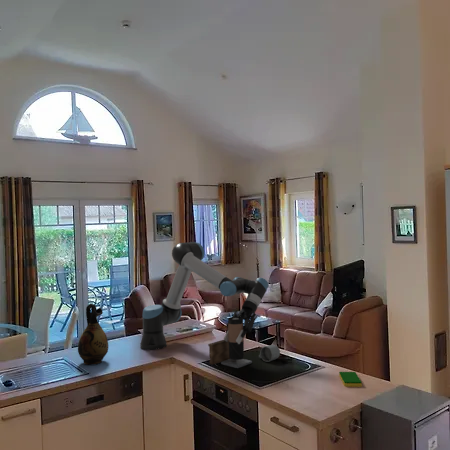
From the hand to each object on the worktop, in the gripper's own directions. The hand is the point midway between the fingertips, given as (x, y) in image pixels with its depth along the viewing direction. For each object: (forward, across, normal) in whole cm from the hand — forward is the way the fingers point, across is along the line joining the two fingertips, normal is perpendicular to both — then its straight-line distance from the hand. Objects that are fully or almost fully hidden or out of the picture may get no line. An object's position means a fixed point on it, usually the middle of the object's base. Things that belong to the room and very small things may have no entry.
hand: (231, 341), depth 223 cm
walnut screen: (+6, +9, -11) cm, 15 cm away
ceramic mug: (-4, -8, -22) cm, 24 cm away
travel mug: (+4, 0, -9) cm, 10 cm away
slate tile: (+6, 0, -11) cm, 12 cm away
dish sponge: (-1, -56, -19) cm, 59 cm away
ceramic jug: (+37, +61, +20) cm, 74 cm away
